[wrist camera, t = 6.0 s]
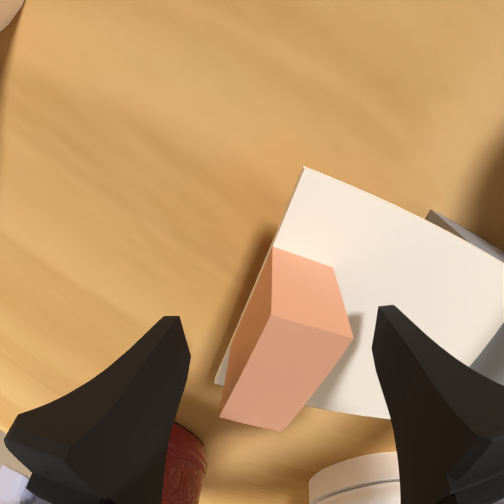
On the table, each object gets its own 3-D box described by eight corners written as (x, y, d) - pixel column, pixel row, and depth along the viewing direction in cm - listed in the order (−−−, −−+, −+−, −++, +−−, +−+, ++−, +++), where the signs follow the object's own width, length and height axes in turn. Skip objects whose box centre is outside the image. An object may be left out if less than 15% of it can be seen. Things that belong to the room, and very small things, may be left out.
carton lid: (525, 276, 12) (573, 327, 8) (414, 415, 17) (431, 472, 13) (303, 165, 11) (321, 206, 7) (215, 376, 16) (200, 450, 12)
